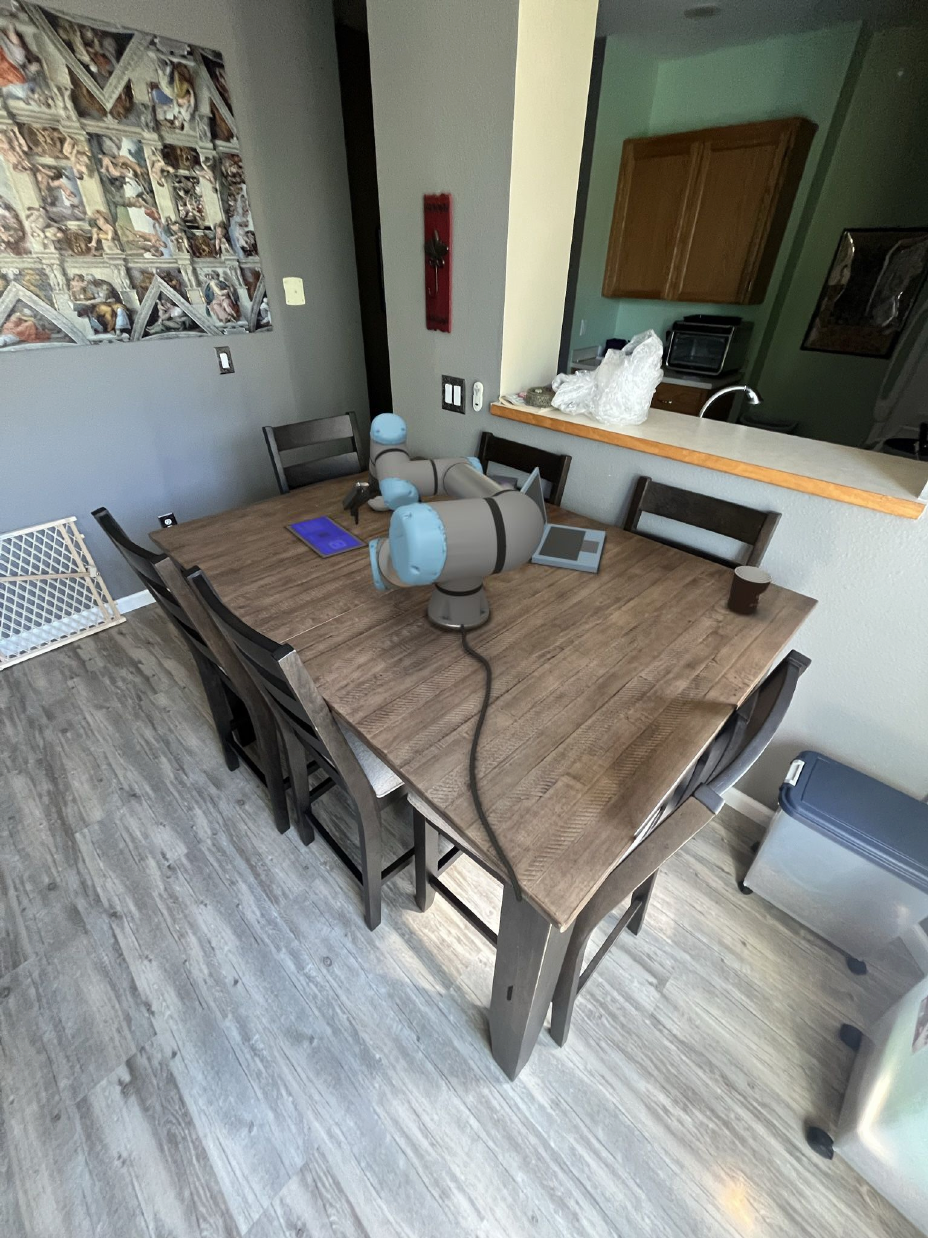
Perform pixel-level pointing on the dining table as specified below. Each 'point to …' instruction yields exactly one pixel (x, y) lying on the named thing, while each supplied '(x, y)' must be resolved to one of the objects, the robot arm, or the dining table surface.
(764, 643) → the dining table surface
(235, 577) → the dining table surface
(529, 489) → the cover
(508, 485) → the small box
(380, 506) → the teacup
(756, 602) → the coffee mug
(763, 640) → the dining table surface
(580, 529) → the laptop base
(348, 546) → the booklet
